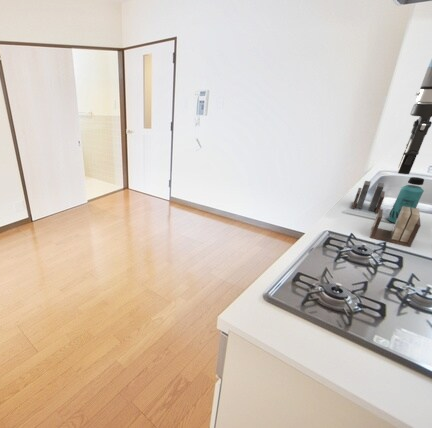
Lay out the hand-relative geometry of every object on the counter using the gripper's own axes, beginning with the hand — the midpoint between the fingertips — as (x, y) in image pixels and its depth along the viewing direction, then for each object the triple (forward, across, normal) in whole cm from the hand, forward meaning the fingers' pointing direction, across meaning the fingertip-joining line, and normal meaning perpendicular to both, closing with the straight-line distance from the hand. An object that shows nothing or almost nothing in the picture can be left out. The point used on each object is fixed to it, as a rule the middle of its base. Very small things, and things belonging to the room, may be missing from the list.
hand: (403, 170), depth 100 cm
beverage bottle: (+25, -12, +5) cm, 28 cm away
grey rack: (+25, -20, -6) cm, 33 cm away
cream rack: (+25, +4, +3) cm, 25 cm away
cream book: (0, 0, 0) cm, 0 cm away
